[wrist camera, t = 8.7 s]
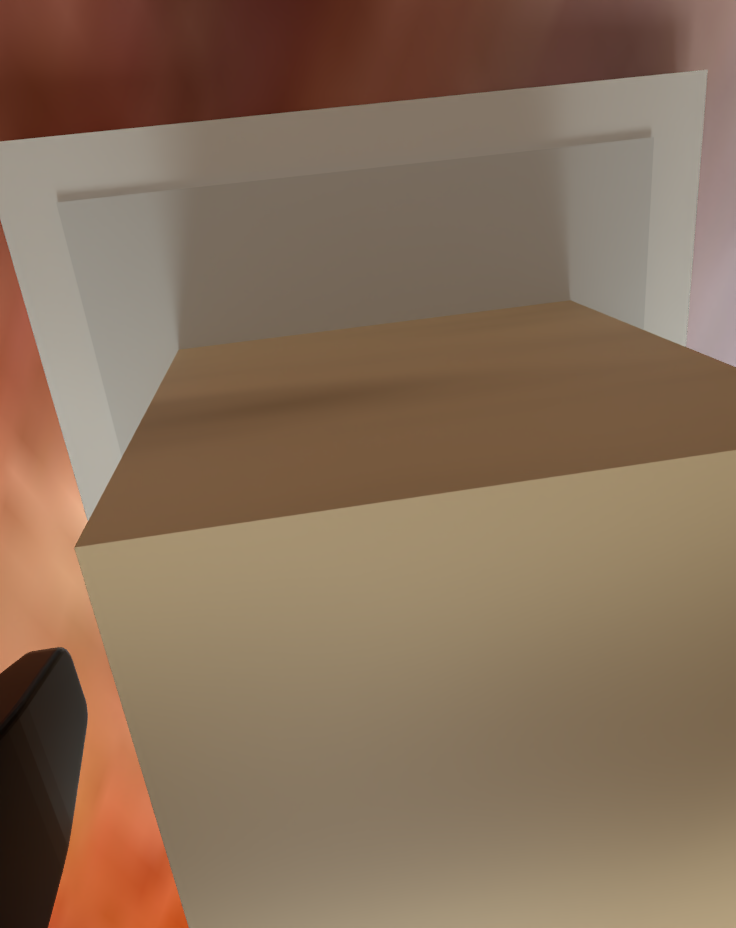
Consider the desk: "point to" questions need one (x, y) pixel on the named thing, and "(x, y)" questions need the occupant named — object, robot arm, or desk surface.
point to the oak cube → (433, 625)
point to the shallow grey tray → (342, 229)
